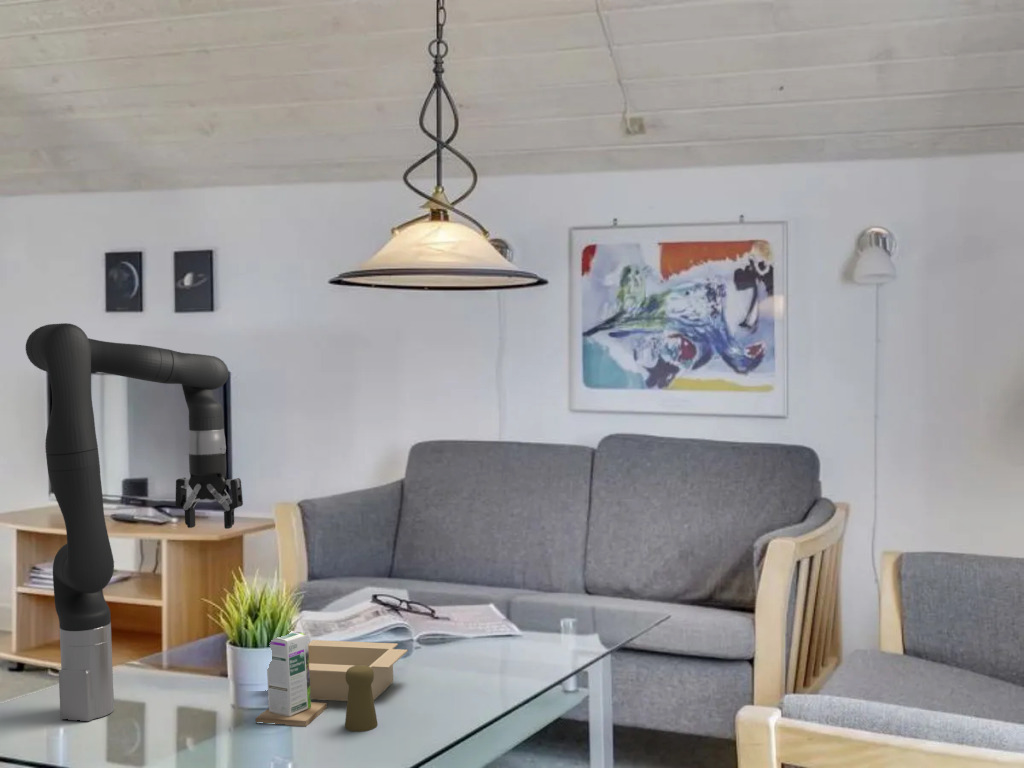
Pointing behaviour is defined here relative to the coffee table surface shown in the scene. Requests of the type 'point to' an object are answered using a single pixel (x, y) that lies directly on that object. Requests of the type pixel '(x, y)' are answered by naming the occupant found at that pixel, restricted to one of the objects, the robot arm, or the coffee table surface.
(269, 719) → the coaster
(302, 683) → the syrup box
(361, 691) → the pepper shaker
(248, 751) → the coffee table surface
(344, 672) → the carton
